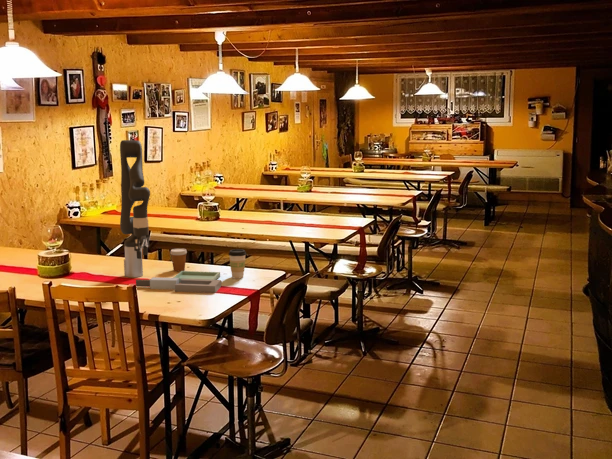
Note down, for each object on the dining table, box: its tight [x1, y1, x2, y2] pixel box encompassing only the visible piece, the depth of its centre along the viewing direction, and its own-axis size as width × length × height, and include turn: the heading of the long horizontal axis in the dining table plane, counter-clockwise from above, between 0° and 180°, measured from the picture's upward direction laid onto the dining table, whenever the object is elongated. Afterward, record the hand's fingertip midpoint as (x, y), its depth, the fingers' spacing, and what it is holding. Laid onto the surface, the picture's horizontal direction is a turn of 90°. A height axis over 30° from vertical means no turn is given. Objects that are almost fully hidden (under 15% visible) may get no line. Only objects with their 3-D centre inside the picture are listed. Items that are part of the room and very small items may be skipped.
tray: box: [173, 270, 221, 284], centre depth 342 cm, size 22×16×2 cm
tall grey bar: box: [135, 276, 180, 290], centre depth 325 cm, size 22×5×5 cm, turn 86°
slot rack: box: [174, 279, 222, 294], centre depth 323 cm, size 21×12×4 cm, turn 84°
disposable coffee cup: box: [169, 248, 188, 273], centre depth 361 cm, size 10×10×12 cm
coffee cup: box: [228, 248, 247, 280], centre depth 346 cm, size 10×10×15 cm
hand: (142, 256), depth 324 cm, fingers open, 8 cm apart
